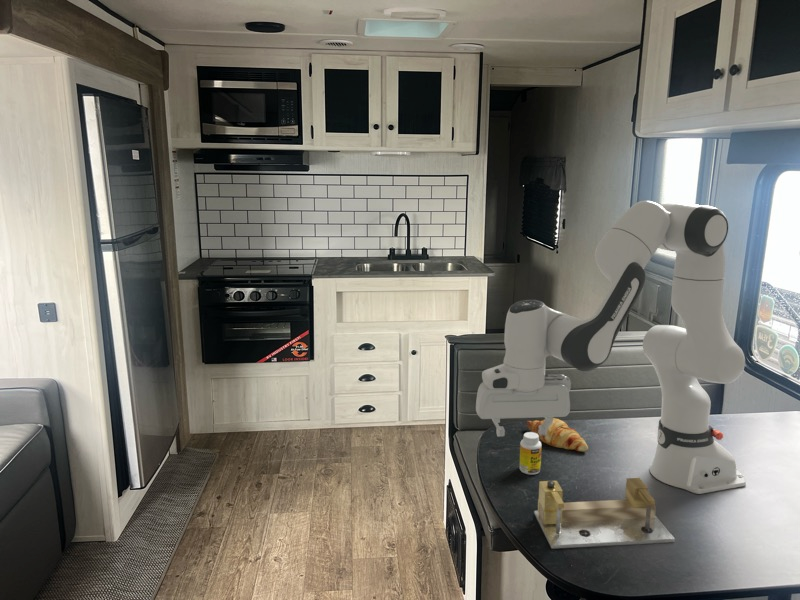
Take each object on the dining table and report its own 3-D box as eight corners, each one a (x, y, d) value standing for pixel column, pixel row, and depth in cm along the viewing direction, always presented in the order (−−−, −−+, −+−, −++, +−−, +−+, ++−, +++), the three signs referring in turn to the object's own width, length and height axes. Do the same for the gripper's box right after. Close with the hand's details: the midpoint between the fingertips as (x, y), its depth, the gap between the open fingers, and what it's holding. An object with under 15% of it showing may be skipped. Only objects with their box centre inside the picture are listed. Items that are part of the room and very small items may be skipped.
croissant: (592, 461, 169) (600, 435, 170) (575, 456, 162) (584, 429, 163) (531, 436, 184) (539, 412, 185) (514, 430, 178) (523, 405, 178)
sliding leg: (554, 510, 137) (556, 476, 135) (568, 535, 128) (570, 499, 126) (537, 511, 137) (539, 477, 135) (550, 536, 128) (552, 500, 126)
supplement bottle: (530, 477, 154) (531, 441, 152) (515, 469, 159) (515, 434, 156) (545, 471, 157) (546, 436, 155) (529, 463, 162) (531, 428, 159)
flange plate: (646, 508, 139) (646, 504, 139) (674, 541, 127) (675, 538, 127) (534, 513, 138) (534, 510, 138) (551, 548, 125) (551, 544, 125)
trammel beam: (647, 508, 138) (649, 477, 136) (666, 531, 129) (669, 499, 127) (538, 513, 137) (539, 482, 135) (550, 538, 128) (551, 504, 126)
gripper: (566, 369, 130) (563, 427, 133) (475, 371, 129) (473, 430, 132) (576, 379, 124) (572, 439, 127) (480, 381, 123) (479, 442, 126)
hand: (521, 434), depth 130 cm, fingers open, 8 cm apart
